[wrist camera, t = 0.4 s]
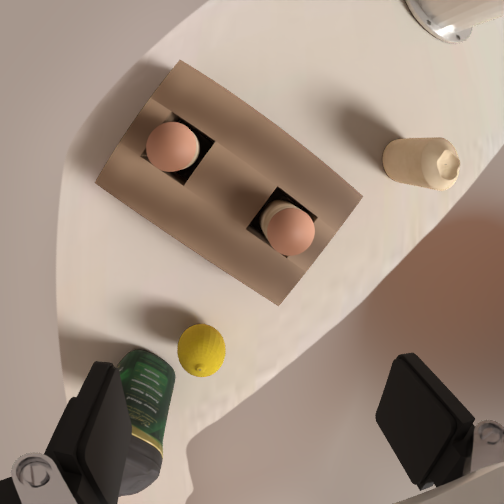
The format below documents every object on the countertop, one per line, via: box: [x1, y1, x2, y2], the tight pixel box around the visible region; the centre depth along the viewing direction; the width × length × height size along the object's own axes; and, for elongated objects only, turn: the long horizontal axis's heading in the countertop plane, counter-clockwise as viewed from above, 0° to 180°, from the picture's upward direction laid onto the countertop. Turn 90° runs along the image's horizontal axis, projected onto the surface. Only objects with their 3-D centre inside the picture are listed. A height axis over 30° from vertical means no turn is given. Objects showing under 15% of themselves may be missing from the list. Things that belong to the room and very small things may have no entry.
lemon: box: [178, 324, 225, 377], centre depth 36 cm, size 6×6×8 cm
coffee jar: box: [117, 350, 175, 497], centre depth 32 cm, size 10×8×19 cm
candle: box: [382, 138, 460, 191], centre depth 31 cm, size 6×6×10 cm
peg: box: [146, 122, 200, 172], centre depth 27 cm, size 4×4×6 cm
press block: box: [95, 60, 363, 306], centre depth 32 cm, size 14×22×6 cm, turn 53°
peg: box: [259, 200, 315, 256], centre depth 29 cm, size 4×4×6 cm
